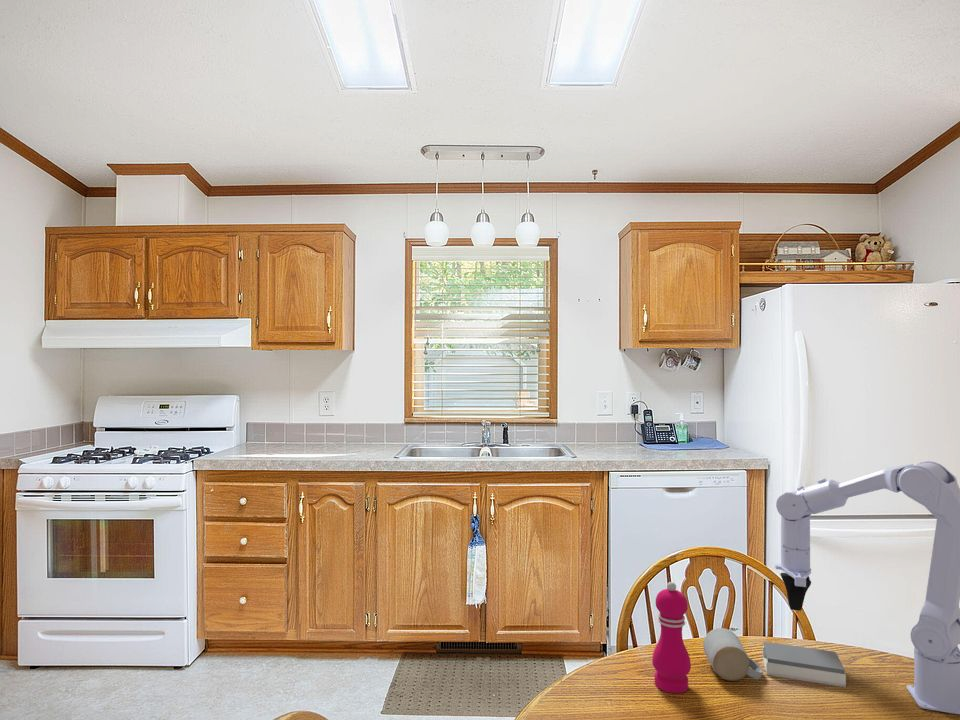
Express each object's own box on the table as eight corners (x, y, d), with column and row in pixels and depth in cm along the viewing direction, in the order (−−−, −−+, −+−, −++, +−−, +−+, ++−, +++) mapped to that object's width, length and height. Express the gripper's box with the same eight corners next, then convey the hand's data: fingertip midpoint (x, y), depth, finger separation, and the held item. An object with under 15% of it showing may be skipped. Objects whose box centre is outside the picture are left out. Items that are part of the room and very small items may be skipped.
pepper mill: (693, 697, 114) (693, 590, 115) (653, 692, 116) (653, 587, 116) (688, 678, 121) (688, 577, 122) (650, 674, 123) (651, 574, 123)
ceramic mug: (712, 682, 120) (713, 643, 120) (702, 662, 128) (703, 625, 128) (769, 686, 119) (769, 647, 119) (754, 666, 127) (755, 629, 127)
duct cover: (835, 655, 126) (835, 651, 126) (844, 674, 118) (844, 669, 118) (763, 645, 130) (763, 641, 130) (767, 662, 123) (767, 658, 123)
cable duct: (836, 668, 126) (836, 656, 126) (845, 687, 118) (845, 674, 118) (762, 657, 130) (762, 645, 130) (766, 674, 123) (766, 662, 123)
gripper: (771, 536, 141) (771, 595, 141) (779, 554, 128) (779, 619, 127) (805, 539, 139) (805, 599, 139) (817, 557, 125) (817, 624, 125)
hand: (795, 609), depth 133 cm, fingers closed
